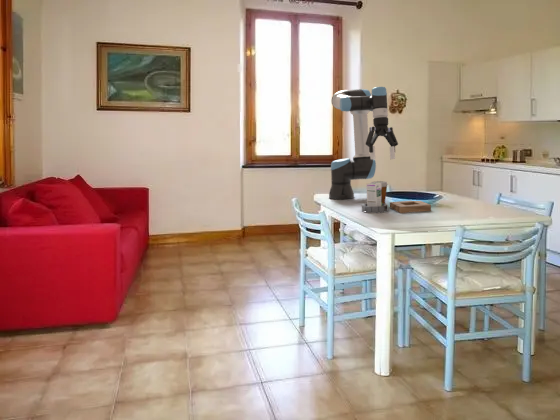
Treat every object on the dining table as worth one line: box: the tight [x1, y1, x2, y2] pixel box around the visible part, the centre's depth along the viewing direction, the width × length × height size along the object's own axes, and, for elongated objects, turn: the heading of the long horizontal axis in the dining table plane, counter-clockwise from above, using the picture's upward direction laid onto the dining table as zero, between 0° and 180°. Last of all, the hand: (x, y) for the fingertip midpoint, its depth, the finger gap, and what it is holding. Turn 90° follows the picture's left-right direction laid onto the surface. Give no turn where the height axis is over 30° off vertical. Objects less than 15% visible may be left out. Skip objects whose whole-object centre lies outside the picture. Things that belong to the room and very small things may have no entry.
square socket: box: [389, 200, 432, 214], centre depth 265 cm, size 16×16×3 cm
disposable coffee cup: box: [370, 180, 389, 203], centre depth 285 cm, size 10×10×12 cm
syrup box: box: [366, 181, 382, 207], centre depth 266 cm, size 6×6×14 cm
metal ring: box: [361, 202, 388, 213], centre depth 267 cm, size 13×13×3 cm
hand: (382, 159), depth 263 cm, fingers open, 13 cm apart
